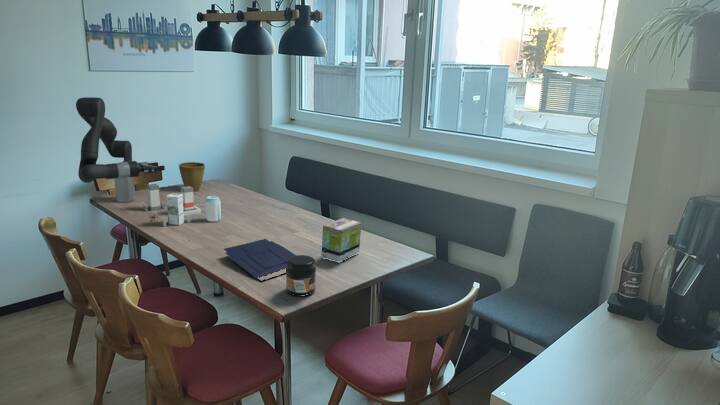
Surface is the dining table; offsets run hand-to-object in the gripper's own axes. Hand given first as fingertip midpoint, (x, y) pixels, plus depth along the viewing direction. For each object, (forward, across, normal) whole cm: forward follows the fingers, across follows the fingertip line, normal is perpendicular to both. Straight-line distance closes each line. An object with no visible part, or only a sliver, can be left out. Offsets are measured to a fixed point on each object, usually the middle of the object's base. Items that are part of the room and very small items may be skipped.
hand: (161, 166), depth 251 cm
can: (+18, -18, +26) cm, 37 cm away
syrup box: (+1, -13, +26) cm, 29 cm away
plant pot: (+34, +43, +27) cm, 61 cm away
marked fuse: (+12, 0, +25) cm, 28 cm away
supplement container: (+6, -110, +25) cm, 113 cm away
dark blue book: (+10, -80, +26) cm, 85 cm away
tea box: (+40, -92, +26) cm, 104 cm away
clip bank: (0, +1, +26) cm, 26 cm away
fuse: (+1, +16, +26) cm, 31 cm away
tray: (+12, 0, +26) cm, 29 cm away
